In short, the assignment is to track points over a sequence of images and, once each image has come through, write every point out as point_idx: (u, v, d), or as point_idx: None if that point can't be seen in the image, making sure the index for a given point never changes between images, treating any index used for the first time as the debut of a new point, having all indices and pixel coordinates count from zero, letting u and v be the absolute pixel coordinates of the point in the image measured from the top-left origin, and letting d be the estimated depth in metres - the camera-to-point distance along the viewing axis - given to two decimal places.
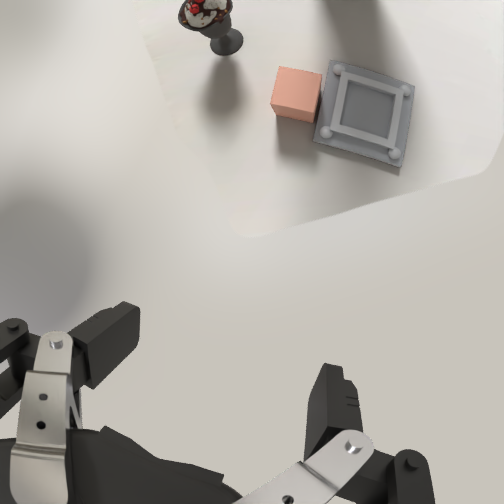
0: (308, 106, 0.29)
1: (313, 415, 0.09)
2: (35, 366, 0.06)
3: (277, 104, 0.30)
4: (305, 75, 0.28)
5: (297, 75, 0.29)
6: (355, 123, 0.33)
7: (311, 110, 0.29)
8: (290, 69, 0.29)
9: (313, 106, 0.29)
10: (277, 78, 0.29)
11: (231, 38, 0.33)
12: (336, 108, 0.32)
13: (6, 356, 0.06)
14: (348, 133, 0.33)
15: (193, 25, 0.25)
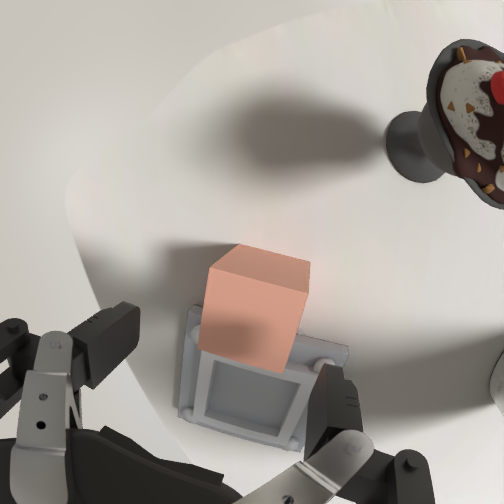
0: (208, 341, 0.16)
1: (313, 415, 0.09)
2: (35, 366, 0.06)
3: (208, 282, 0.15)
4: (281, 346, 0.15)
5: (280, 330, 0.15)
6: (226, 376, 0.22)
7: (201, 345, 0.16)
8: (297, 317, 0.14)
9: (209, 350, 0.16)
10: (274, 287, 0.14)
11: (424, 160, 0.15)
12: None
13: (6, 356, 0.06)
14: (201, 369, 0.21)
15: (447, 76, 0.07)
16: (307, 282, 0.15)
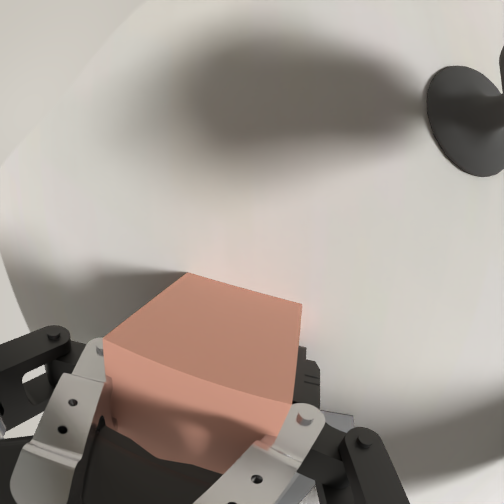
0: None
1: None
2: (75, 369, 0.07)
3: (107, 361, 0.07)
4: None
5: (239, 449, 0.07)
6: None
7: None
8: None
9: None
10: (221, 389, 0.06)
11: (486, 140, 0.08)
12: None
13: (40, 363, 0.07)
14: None
15: None
16: (293, 366, 0.08)
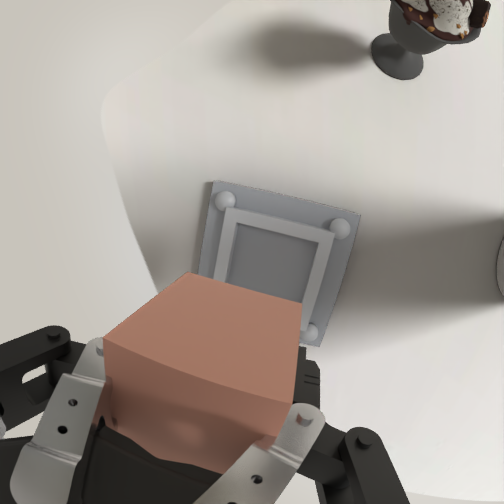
0: None
1: None
2: (75, 369, 0.07)
3: (107, 361, 0.07)
4: None
5: (239, 448, 0.07)
6: (246, 248, 0.24)
7: None
8: None
9: None
10: (221, 388, 0.06)
11: (401, 61, 0.18)
12: (263, 218, 0.22)
13: (40, 363, 0.07)
14: (222, 236, 0.23)
15: None
16: (293, 365, 0.08)
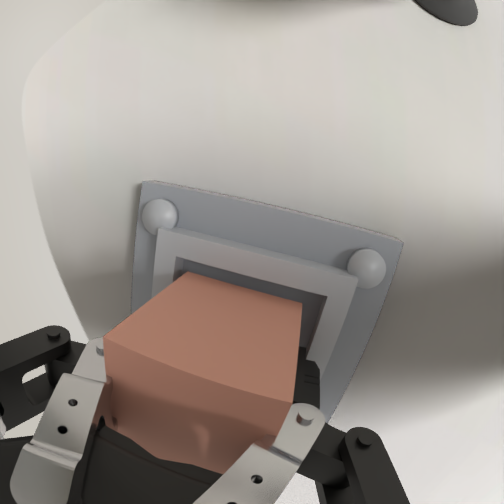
0: None
1: None
2: (75, 369, 0.07)
3: (107, 360, 0.07)
4: None
5: (240, 448, 0.07)
6: None
7: None
8: None
9: None
10: (221, 388, 0.06)
11: None
12: (222, 251, 0.12)
13: (40, 363, 0.07)
14: (156, 280, 0.13)
15: None
16: (293, 364, 0.08)
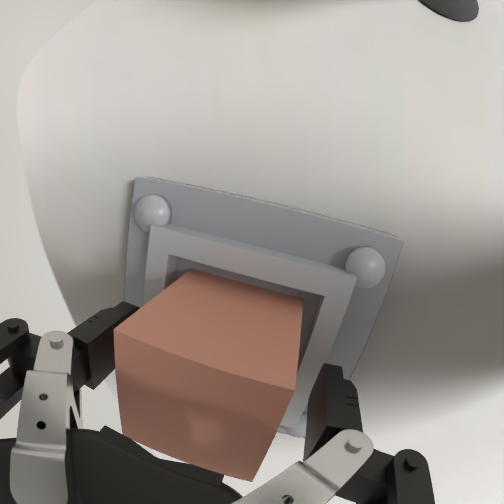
0: (135, 431, 0.08)
1: (313, 415, 0.09)
2: (35, 366, 0.06)
3: (117, 352, 0.07)
4: (247, 454, 0.07)
5: (244, 436, 0.07)
6: None
7: (126, 432, 0.08)
8: (273, 422, 0.07)
9: (139, 440, 0.08)
10: (227, 376, 0.07)
11: None
12: (216, 248, 0.11)
13: (6, 356, 0.06)
14: (148, 278, 0.12)
15: None
16: (295, 355, 0.08)
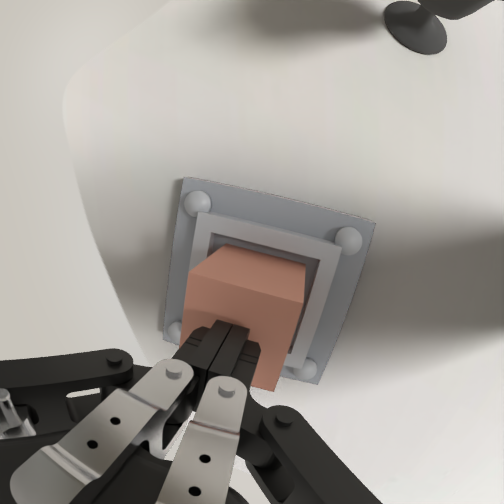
0: None
1: None
2: (134, 386, 0.07)
3: (188, 289, 0.13)
4: (271, 361, 0.13)
5: (271, 344, 0.13)
6: None
7: None
8: (290, 330, 0.12)
9: None
10: (263, 296, 0.12)
11: (422, 32, 0.12)
12: (246, 227, 0.17)
13: (90, 387, 0.07)
14: (194, 250, 0.18)
15: None
16: (302, 289, 0.13)
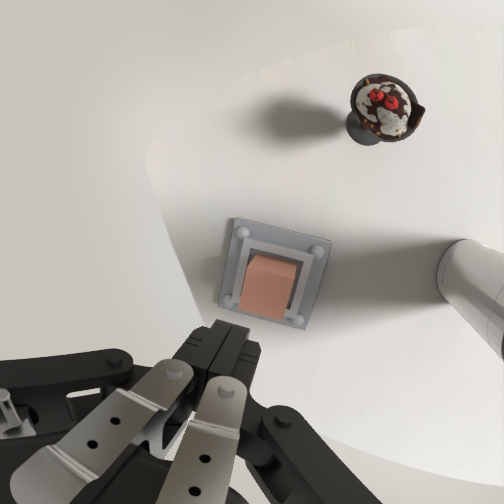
0: (244, 304, 0.32)
1: None
2: (134, 387, 0.07)
3: (246, 274, 0.31)
4: (281, 305, 0.31)
5: (281, 297, 0.31)
6: None
7: (240, 307, 0.32)
8: (289, 290, 0.30)
9: (244, 309, 0.32)
10: (278, 276, 0.30)
11: (367, 132, 0.31)
12: (268, 245, 0.35)
13: (90, 387, 0.07)
14: (241, 256, 0.36)
15: (358, 92, 0.22)
16: (294, 274, 0.31)
